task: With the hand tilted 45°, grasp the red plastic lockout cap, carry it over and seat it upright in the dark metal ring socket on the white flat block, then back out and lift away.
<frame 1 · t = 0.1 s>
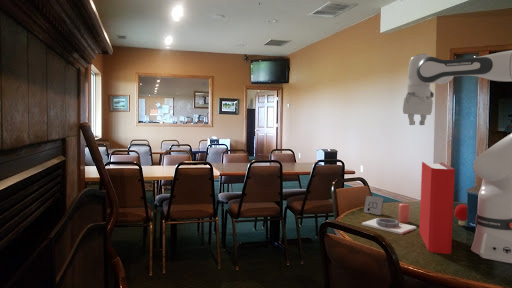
hand: (417, 125, 163), 48 cm above the table, tool pointing down, fingers open, 8 cm apart
book: (434, 242, 155), on the table
electrical switch: (373, 213, 204), on the table
white flat block: (388, 226, 177), on the table
red mushroom: (461, 226, 181), on the table
lockout cap: (403, 221, 188), on the table
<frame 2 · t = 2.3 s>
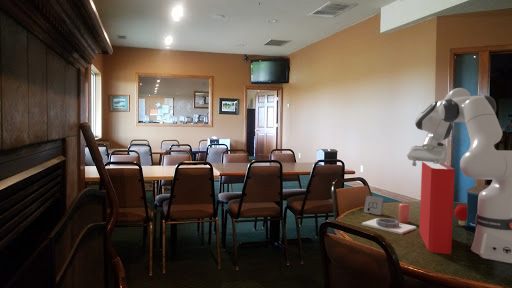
hand: (422, 166, 200), 26 cm above the table, tool tilted 45°, fingers open, 8 cm apart
nothing on the table moved.
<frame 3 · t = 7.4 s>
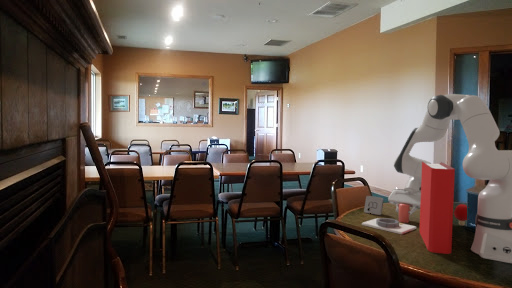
hand: (403, 212, 187), 5 cm above the table, tool tilted 45°, fingers closed on lockout cap, 5 cm apart
lockout cap: (403, 221, 188), on the table, touching gripper
everything else where it was.
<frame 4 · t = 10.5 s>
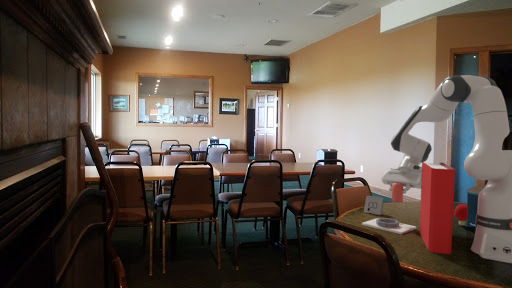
hand: (396, 191, 181), 16 cm above the table, tool tilted 45°, fingers closed on lockout cap, 5 cm apart
lockout cap: (397, 201, 181), point 11 cm above the table, touching gripper
everything else where it was.
when the fingers open (7 cm above the table, at t = 13.8 s): lockout cap drops 1 cm, resting on white flat block.
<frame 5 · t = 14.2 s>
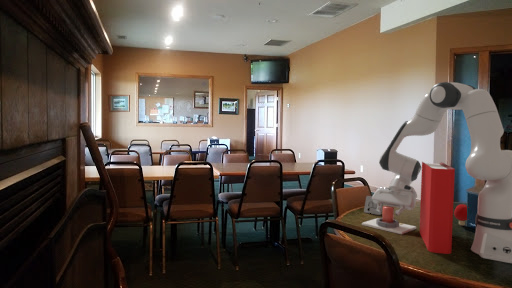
hand: (387, 212, 176), 7 cm above the table, tool tilted 45°, fingers open, 8 cm apart
lockout cap: (387, 225, 177), point 1 cm above the table, touching white flat block
everything else where it was.
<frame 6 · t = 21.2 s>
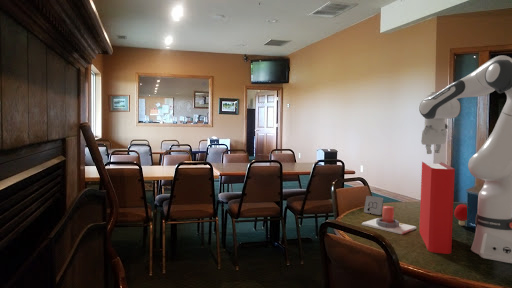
hand: (433, 153, 186), 34 cm above the table, tool pointing down, fingers open, 8 cm apart
nothing on the table moved.
at the end: lockout cap 0.1 cm off-centre on the white flat block, point 1.0 cm above the white flat block's base; lockout cap tilted 1°; the gripper is holding nothing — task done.
